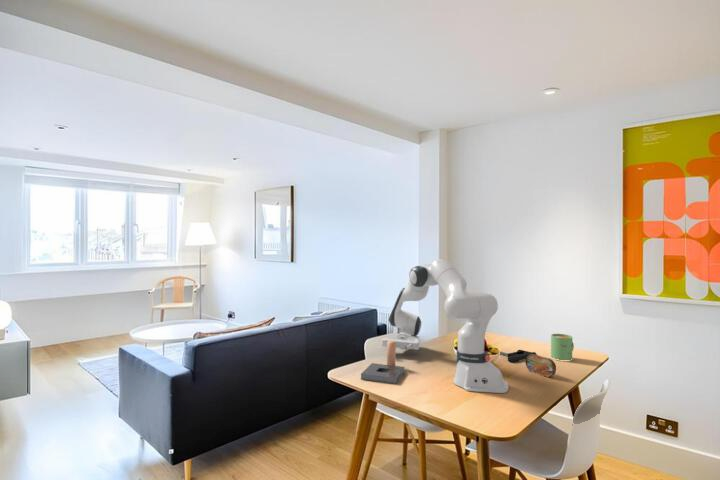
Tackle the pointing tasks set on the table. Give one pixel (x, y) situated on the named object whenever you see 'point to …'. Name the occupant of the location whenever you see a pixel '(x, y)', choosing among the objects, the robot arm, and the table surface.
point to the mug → (561, 346)
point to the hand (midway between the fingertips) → (397, 347)
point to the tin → (540, 365)
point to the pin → (391, 353)
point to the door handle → (517, 355)
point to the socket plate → (383, 373)
